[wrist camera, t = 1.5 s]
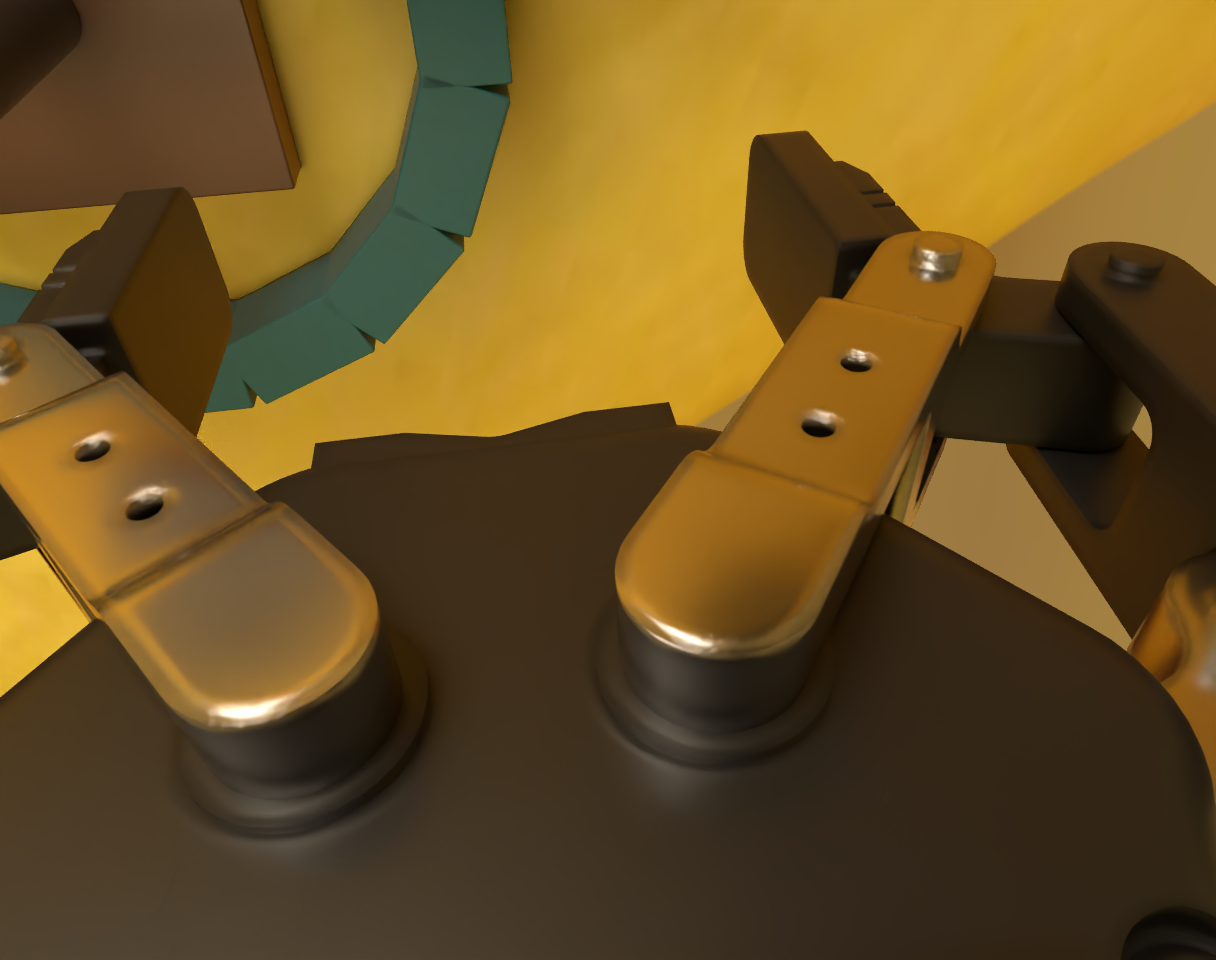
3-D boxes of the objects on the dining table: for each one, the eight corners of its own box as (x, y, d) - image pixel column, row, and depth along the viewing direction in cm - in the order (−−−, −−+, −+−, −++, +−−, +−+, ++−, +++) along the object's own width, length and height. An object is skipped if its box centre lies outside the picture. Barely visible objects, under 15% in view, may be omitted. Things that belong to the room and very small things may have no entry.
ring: (-1010, -744, 14) (-1276, -824, 12) (426, -743, 16) (424, -812, 14) (-143, 399, 30) (-190, 456, 28) (534, 330, 32) (541, 377, 30)
